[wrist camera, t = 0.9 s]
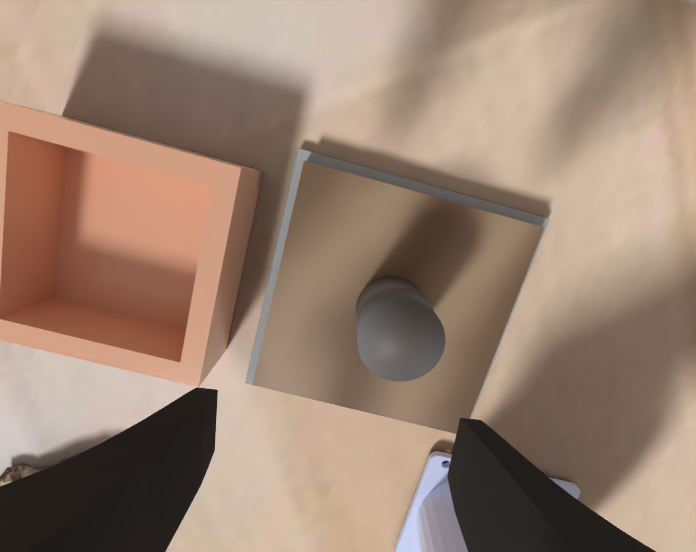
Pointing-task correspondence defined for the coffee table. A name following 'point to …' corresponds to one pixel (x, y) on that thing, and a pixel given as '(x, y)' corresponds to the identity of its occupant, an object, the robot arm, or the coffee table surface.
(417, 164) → the coffee table surface
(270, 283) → the rubber mat
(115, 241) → the peach square box
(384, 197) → the walnut lid
